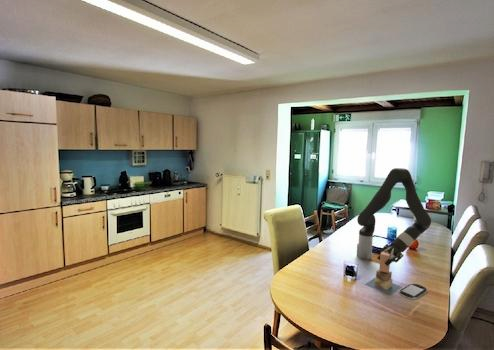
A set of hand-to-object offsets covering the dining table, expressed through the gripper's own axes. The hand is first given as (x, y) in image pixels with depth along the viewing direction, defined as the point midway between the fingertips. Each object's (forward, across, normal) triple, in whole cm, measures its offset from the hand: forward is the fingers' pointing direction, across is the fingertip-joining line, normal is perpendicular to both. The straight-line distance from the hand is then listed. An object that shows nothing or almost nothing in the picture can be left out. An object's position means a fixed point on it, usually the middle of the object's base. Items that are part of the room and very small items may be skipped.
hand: (382, 261), depth 158 cm
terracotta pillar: (+2, 0, +5) cm, 5 cm away
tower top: (+6, 0, +8) cm, 10 cm away
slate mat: (+10, 0, +12) cm, 15 cm away
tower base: (+9, 0, +11) cm, 14 cm away
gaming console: (+1, +8, +22) cm, 23 cm away
